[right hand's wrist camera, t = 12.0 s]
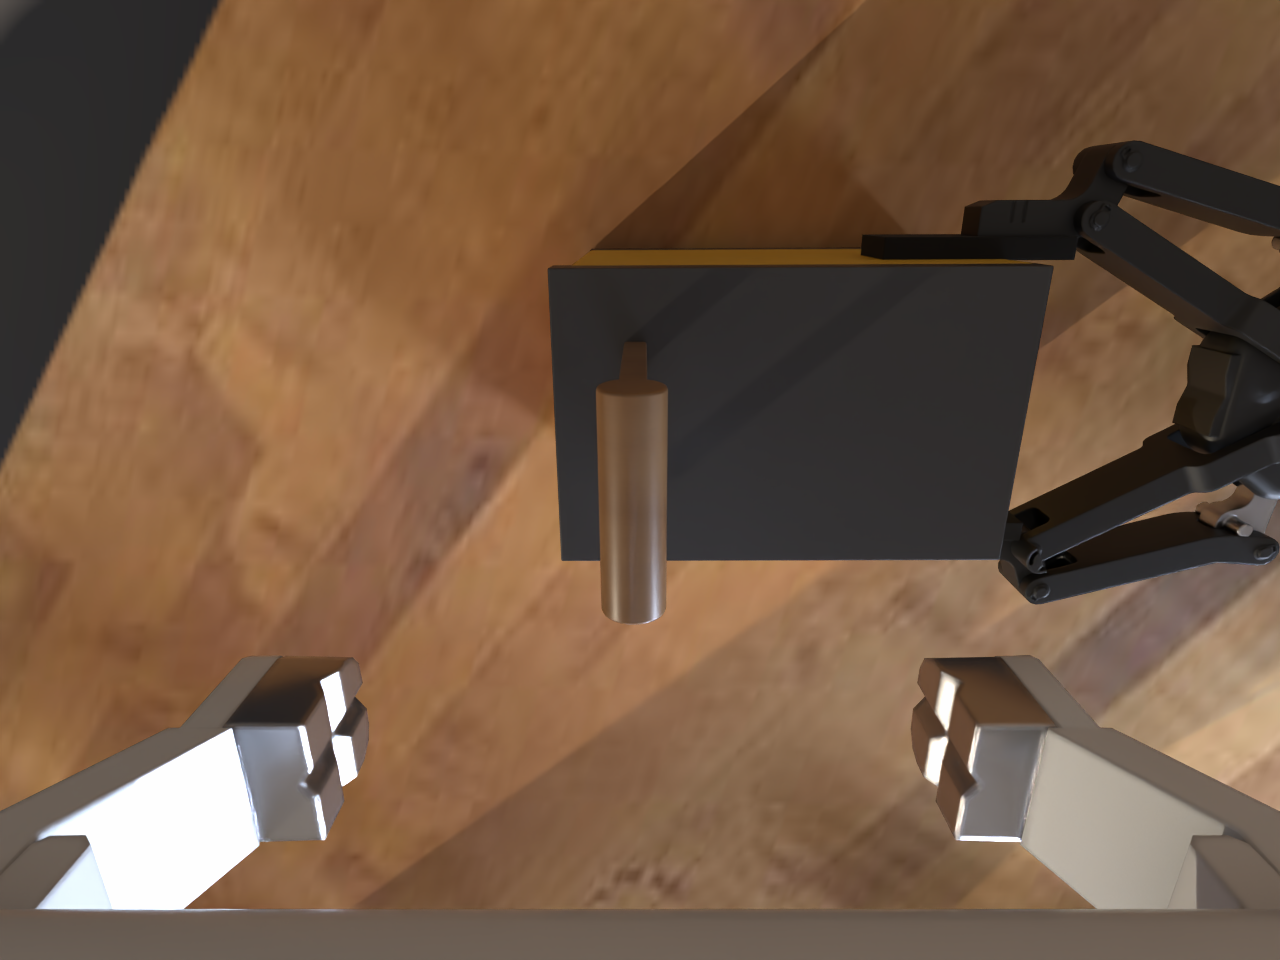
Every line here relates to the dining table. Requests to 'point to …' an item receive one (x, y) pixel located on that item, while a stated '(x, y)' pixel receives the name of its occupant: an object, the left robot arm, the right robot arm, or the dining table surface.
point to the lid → (786, 413)
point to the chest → (752, 257)
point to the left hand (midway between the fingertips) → (857, 391)
